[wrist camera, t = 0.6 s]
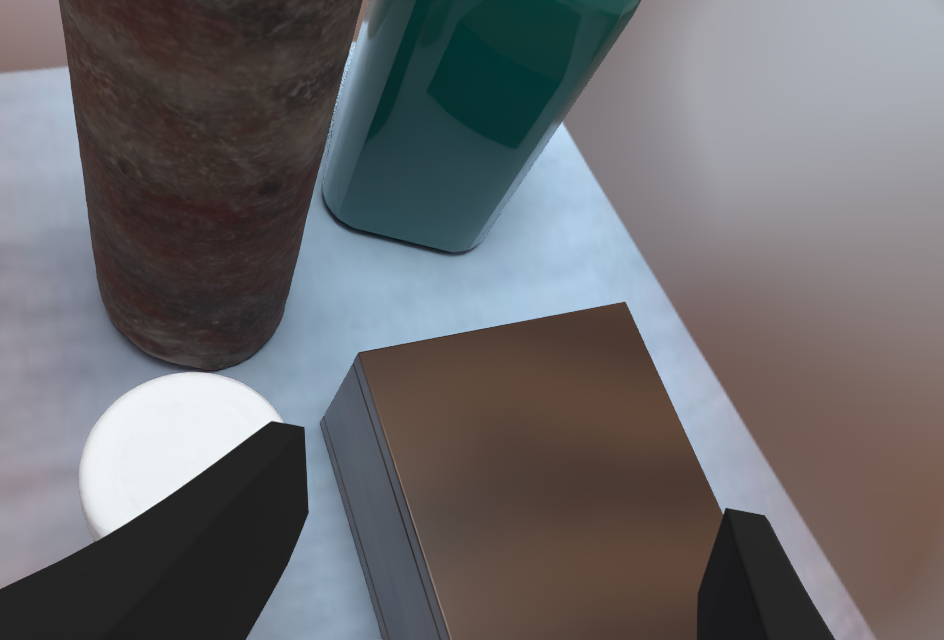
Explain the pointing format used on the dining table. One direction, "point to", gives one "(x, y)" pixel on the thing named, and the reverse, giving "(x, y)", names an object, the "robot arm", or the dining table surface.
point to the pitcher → (457, 109)
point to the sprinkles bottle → (162, 442)
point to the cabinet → (523, 485)
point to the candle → (202, 159)
